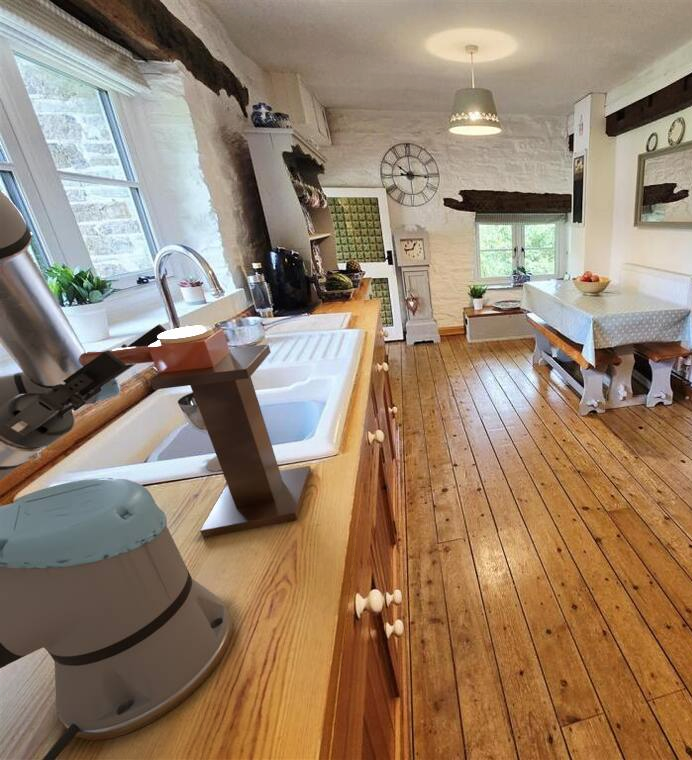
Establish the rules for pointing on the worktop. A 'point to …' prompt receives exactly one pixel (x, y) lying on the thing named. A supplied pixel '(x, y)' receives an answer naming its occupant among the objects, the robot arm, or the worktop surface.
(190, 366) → the reddish brown long piece
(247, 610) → the worktop surface
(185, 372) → the stand
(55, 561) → the robot arm
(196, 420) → the wine glass
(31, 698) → the worktop surface
